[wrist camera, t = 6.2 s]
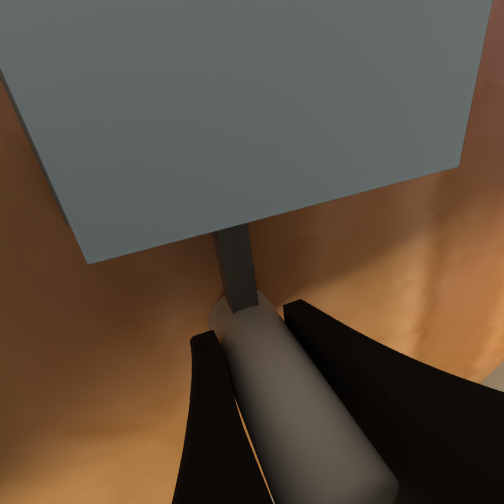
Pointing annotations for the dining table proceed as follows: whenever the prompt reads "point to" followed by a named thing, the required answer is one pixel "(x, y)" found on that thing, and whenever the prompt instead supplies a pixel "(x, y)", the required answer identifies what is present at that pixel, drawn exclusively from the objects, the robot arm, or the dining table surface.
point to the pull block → (244, 162)
